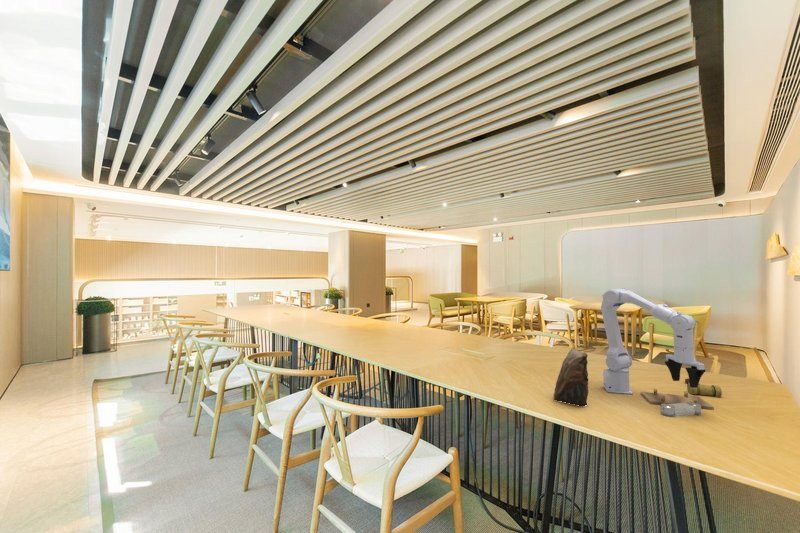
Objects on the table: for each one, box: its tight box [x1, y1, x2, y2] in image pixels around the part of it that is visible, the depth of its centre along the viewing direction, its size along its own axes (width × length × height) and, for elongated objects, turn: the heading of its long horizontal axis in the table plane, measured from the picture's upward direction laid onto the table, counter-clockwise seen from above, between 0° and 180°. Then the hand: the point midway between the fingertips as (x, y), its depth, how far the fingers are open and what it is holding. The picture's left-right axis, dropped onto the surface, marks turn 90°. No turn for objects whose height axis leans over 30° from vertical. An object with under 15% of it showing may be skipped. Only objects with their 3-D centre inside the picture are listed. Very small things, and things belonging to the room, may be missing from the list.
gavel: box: [684, 377, 723, 398], centre depth 150 cm, size 21×5×10 cm
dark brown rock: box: [553, 347, 589, 407], centre depth 137 cm, size 13×13×20 cm
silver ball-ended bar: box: [660, 402, 702, 418], centre depth 124 cm, size 14×4×3 cm, turn 97°
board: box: [639, 388, 715, 411], centre depth 135 cm, size 20×11×3 cm, turn 72°
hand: (684, 383), depth 127 cm, fingers open, 7 cm apart
